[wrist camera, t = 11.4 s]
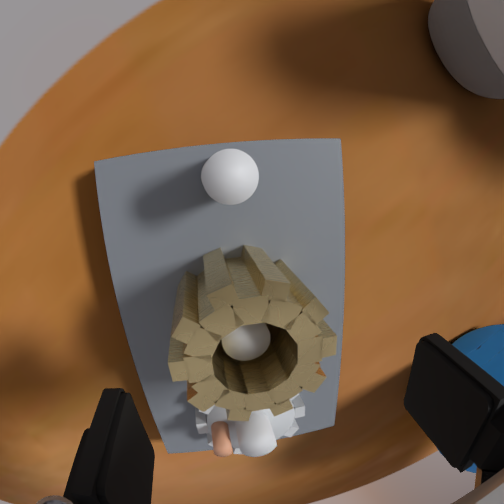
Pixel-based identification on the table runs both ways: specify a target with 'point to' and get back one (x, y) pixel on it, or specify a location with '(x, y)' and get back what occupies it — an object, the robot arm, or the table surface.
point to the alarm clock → (485, 353)
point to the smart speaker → (471, 43)
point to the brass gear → (239, 314)
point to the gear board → (231, 243)
